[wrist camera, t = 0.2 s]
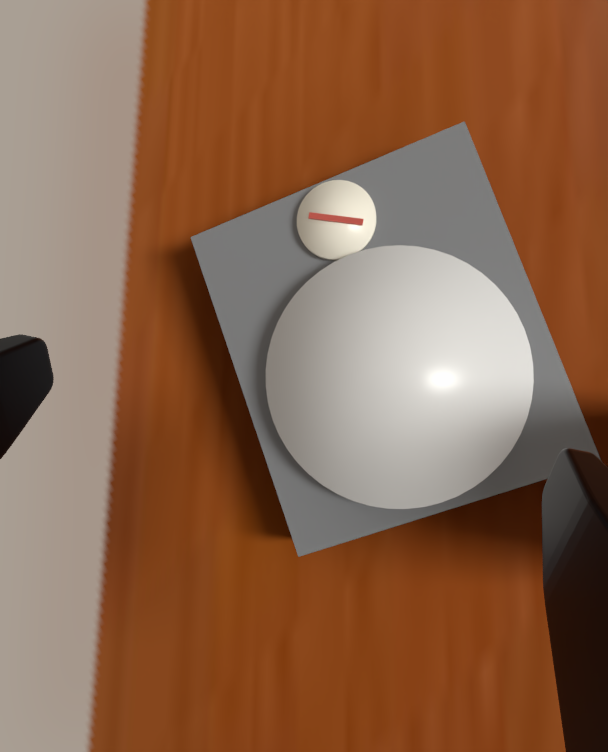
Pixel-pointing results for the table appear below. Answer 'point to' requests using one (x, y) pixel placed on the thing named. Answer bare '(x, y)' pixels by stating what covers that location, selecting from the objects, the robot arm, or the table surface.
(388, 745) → the table surface
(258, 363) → the scale
